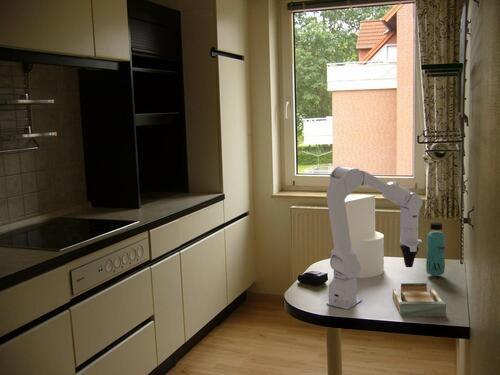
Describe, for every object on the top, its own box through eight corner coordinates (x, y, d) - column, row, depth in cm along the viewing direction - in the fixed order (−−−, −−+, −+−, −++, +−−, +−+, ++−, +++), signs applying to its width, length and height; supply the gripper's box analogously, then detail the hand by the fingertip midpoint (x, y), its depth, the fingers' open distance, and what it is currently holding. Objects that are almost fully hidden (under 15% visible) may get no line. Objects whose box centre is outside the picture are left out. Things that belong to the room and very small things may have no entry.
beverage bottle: (422, 277, 194) (423, 223, 191) (431, 272, 199) (431, 220, 196) (439, 280, 190) (440, 225, 187) (448, 276, 194) (449, 222, 191)
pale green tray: (445, 316, 159) (446, 303, 158) (401, 316, 160) (401, 303, 160) (433, 297, 174) (433, 285, 174) (392, 297, 176) (392, 286, 175)
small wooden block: (400, 298, 175) (400, 282, 174) (425, 298, 174) (426, 282, 173) (408, 312, 163) (408, 296, 162) (435, 312, 162) (435, 295, 161)
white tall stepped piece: (328, 270, 207) (327, 199, 202) (358, 260, 217) (357, 193, 213) (363, 280, 193) (362, 204, 189) (393, 270, 204) (393, 198, 199)
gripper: (426, 232, 170) (425, 273, 172) (417, 222, 185) (416, 260, 187) (404, 232, 171) (403, 273, 173) (396, 222, 185) (395, 260, 187)
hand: (408, 266), depth 180 cm, fingers closed
